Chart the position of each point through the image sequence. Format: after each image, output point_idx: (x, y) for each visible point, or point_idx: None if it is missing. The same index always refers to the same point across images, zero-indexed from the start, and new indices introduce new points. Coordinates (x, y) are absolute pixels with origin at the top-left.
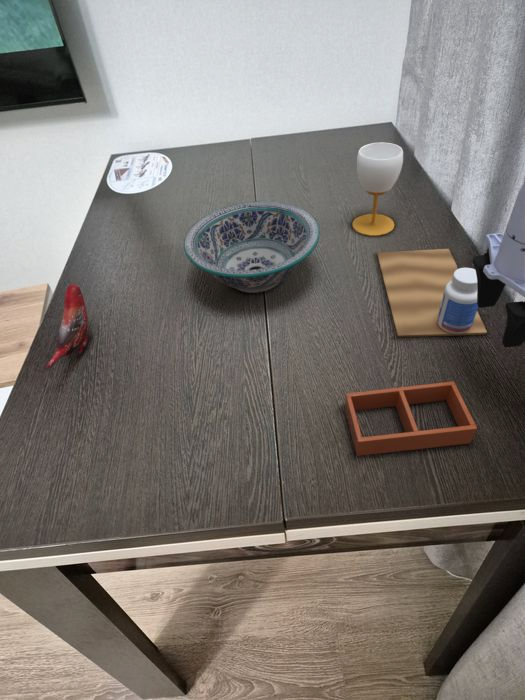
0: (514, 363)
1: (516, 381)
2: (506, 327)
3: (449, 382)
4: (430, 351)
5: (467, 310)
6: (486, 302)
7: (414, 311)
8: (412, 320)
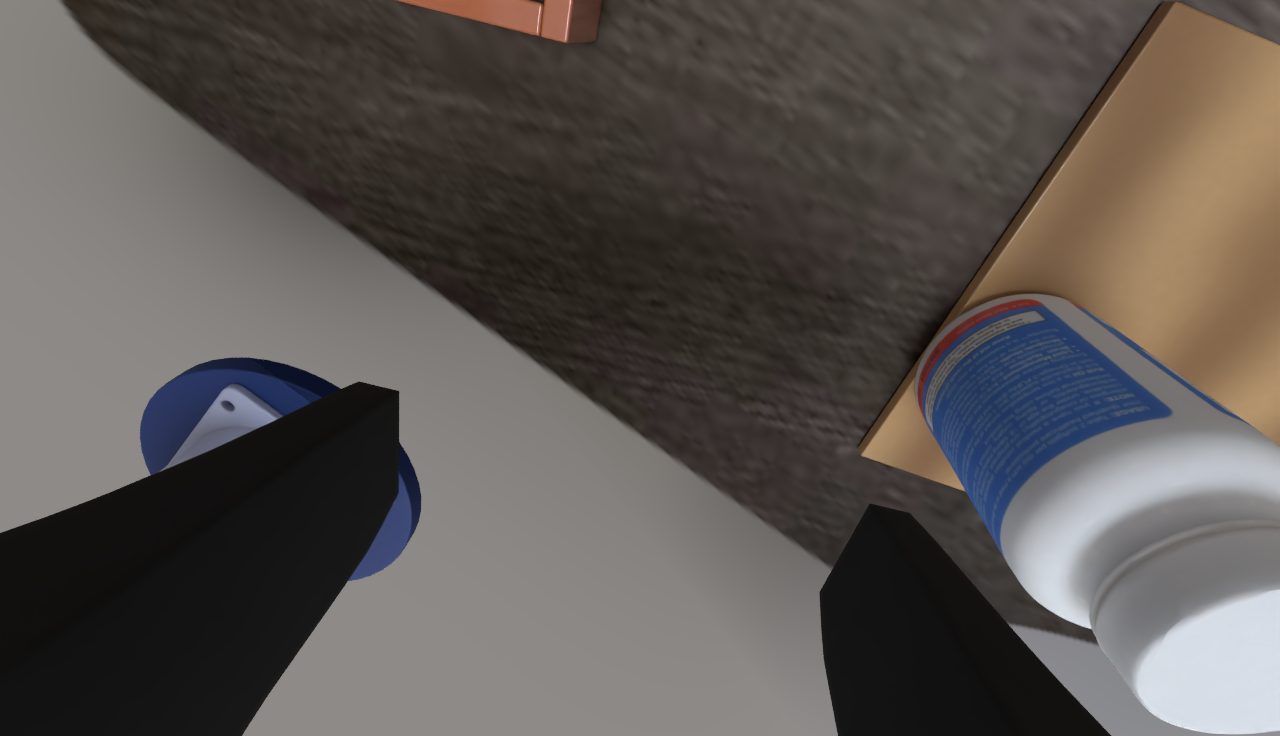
0: (667, 435)
1: (582, 383)
2: (208, 512)
3: (565, 4)
4: (922, 145)
5: (993, 452)
6: (861, 584)
7: (1255, 240)
8: (1204, 182)
